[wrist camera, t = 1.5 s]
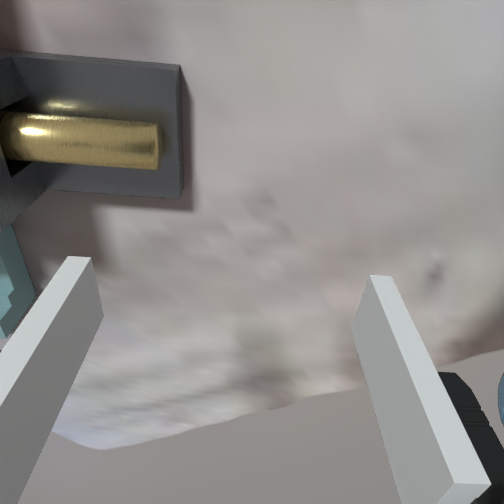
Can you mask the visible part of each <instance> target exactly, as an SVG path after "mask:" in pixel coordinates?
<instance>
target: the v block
mask: <svg viewBox="0 0 504 504" xmlns="http://www.w3.org/2000/svg"><path fill="white" fill-rule="evenodd" d="M35 297H36V293H35V290H34V287H33V285H32V282H31V279H30V276H29V273H28V270H27V267H26V264H25V262H24V259H23V256H22V253H21V250H20V247H19V244H18V241H17V239H16V236H15V233H14V230H13V227H12V224H10V225H9V226H8V227H7V228H6V229H5V230H4V231H3V232H0V338H7V337H8V335H9V334H10V332H11V331H12V330H13V328H14V327H15V325H16V324H17V323H18V321H19V320H20V318H21V317H22V316H23V314H24V313H25V311H26V310H27V309H28V307H29V306H30V304H31V303H32V302H33V300H34V299H35Z"/></svg>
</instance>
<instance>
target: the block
mask: <svg viewBox="0 0 504 504" xmlns="http://www.w3.org/2000/svg"><path fill="white" fill-rule="evenodd" d="M0 111H9V112H21V113H34V114H47V115H59V116H72V117H85V118H97V119H110V120H122V121H135V122H148V123H159V124H160V126H161V129H162V134H163V159H162V164H161V168H160V169H159V170H146V169H132V168H119V167H105V166H92V165H78V164H65V163H51V162H38V161H24V160H11V159H5V158H4V155H3V152H2V149H1V145H0V232H3V231H4V230H5V229H6V228H7V227H8V226H9V225H10V224H11V223H12V222H13V221H14V220H15V219H16V218H17V217H18V216H20V215H21V214H22V213H23V212H24V211H25V210H26V209H27V208H28V207H29V206H30V205H31V204H32V203H33V202H34V201H35V200H36V199H37V198H38V197H39V196H40V195H42V194H43V193H44V192H45V191H46V190H60V191H74V192H88V193H102V194H116V195H130V196H144V197H158V198H172V199H180V197H181V194H182V191H183V189H184V177H183V145H182V114H181V83H180V65H176V64H164V63H153V62H141V61H129V60H118V59H106V58H95V57H83V56H71V55H60V54H48V53H36V52H25V51H13V50H2V49H0Z"/></svg>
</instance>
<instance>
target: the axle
mask: <svg viewBox="0 0 504 504" xmlns="http://www.w3.org/2000/svg"><path fill="white" fill-rule="evenodd" d="M0 145H1V149H2V152H3V155H4V158H5V159H11V160H24V161H38V162H51V163H65V164H78V165H92V166H105V167H119V168H132V169H146V170H159V169H160V168H161V164H162V159H163V134H162V129H161V126H160V124H159V123H148V122H135V121H122V120H110V119H97V118H85V117H72V116H59V115H47V114H34V113H21V112H9V111H0Z"/></svg>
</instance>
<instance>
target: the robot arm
mask: <svg viewBox="0 0 504 504" xmlns="http://www.w3.org/2000/svg"><path fill="white" fill-rule="evenodd" d="M103 317H104V314H103V310H102V305H101V300H100V296H99V291H98V287H97V282H96V277H95V273H94V268H93V264H92V259H91V257H76V256H68V257H67V258H66V260H65V261H64V262H63V264H62V265H61V267H60V268H59V270H58V271H57V272H56V274H55V275H54V277H53V278H52V280H51V281H50V282H49V284H48V285H47V287H46V288H45V290H44V291H43V292H42V294H41V295H40V297H39V298H38V300H37V301H36V302H35V304H34V305H33V307H32V308H31V309H30V311H29V312H28V314H27V315H26V317H25V318H24V319H23V321H22V322H21V324H20V325H19V327H18V328H17V329H16V331H15V332H14V334H13V335H12V337H11V338H10V339H9V341H8V342H7V344H6V345H5V347H4V348H3V349H2V350H0V504H17V503H18V501H19V499H20V497H21V494H22V492H23V490H24V488H25V485H26V483H27V481H28V479H29V477H30V475H31V473H32V471H33V468H34V466H35V464H36V462H37V459H38V458H39V455H40V453H41V451H42V449H43V447H44V444H45V442H46V440H47V438H48V436H49V434H50V432H51V429H52V427H53V425H54V423H55V421H56V419H57V416H58V414H59V412H60V410H61V408H62V406H63V403H64V401H65V399H66V397H67V395H68V393H69V390H70V388H71V386H72V384H73V382H74V380H75V377H76V375H77V373H78V371H79V369H80V367H81V364H82V362H83V360H84V358H85V356H86V354H87V351H88V349H89V347H90V345H91V343H92V341H93V338H94V336H95V334H96V332H97V330H98V328H99V325H100V323H101V321H102V319H103ZM351 331H352V335H353V338H354V342H355V345H356V349H357V352H358V356H359V359H360V363H361V366H362V370H363V373H364V376H365V380H366V383H367V387H368V390H369V394H370V397H371V401H372V404H373V408H374V411H375V415H376V418H377V421H378V425H379V428H380V432H381V435H382V439H383V442H384V445H385V449H386V453H387V456H388V459H389V463H390V467H391V470H392V474H393V477H394V480H395V484H396V487H397V491H398V494H399V498H400V501H401V504H504V449H503V447H502V445H501V443H500V441H499V439H498V437H497V436H496V434H495V432H494V430H493V428H492V427H490V426H489V421H488V419H487V417H486V416H485V414H484V412H483V411H481V407H480V405H479V403H478V401H477V399H476V397H475V395H474V394H473V392H472V390H471V389H470V388H469V387H468V386H467V384H466V383H465V382H464V381H463V380H462V379H461V378H460V377H459V376H458V375H457V374H456V373H449V372H448V373H447V372H437V370H436V368H435V366H434V364H433V362H432V360H431V358H430V356H429V354H428V352H427V350H426V348H425V346H424V343H423V341H422V339H421V337H420V335H419V333H418V331H417V329H416V327H415V325H414V323H413V321H412V319H411V317H410V314H409V312H408V310H407V308H406V306H405V304H404V302H403V300H402V298H401V296H400V294H399V292H398V290H397V288H396V286H395V283H394V281H393V279H392V277H391V276H379V275H369V278H368V281H367V284H366V287H365V290H364V293H363V296H362V299H361V302H360V305H359V308H358V311H357V314H356V317H355V320H354V323H353V326H352V329H351ZM498 408H499V413H500V418H501V421H502V424H503V426H504V373H503V375H502V378H501V380H500V383H499V387H498Z"/></svg>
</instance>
